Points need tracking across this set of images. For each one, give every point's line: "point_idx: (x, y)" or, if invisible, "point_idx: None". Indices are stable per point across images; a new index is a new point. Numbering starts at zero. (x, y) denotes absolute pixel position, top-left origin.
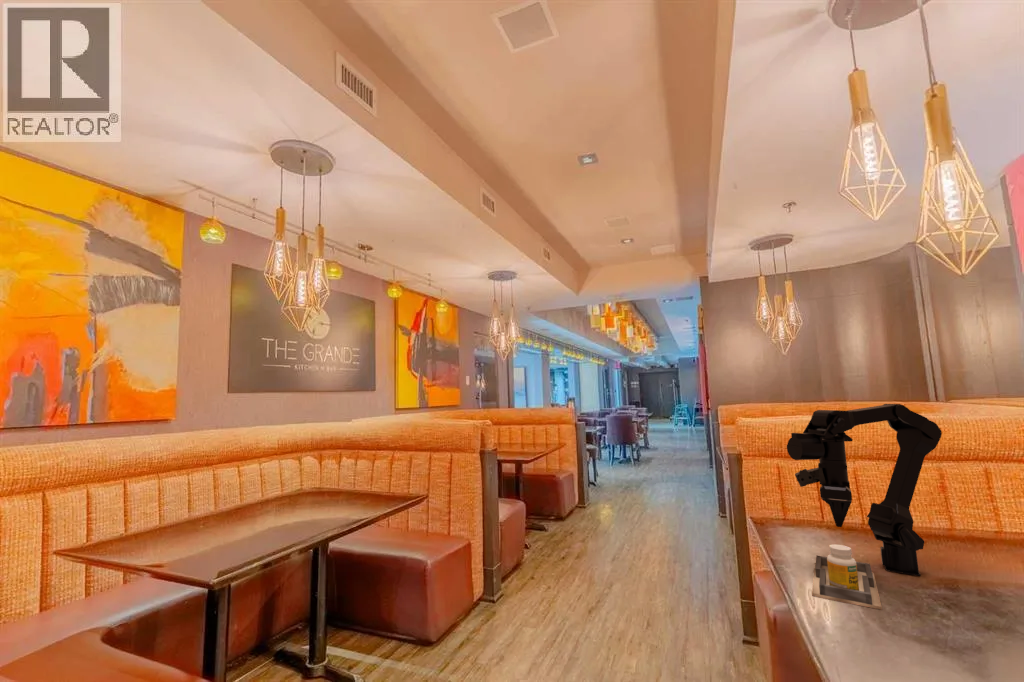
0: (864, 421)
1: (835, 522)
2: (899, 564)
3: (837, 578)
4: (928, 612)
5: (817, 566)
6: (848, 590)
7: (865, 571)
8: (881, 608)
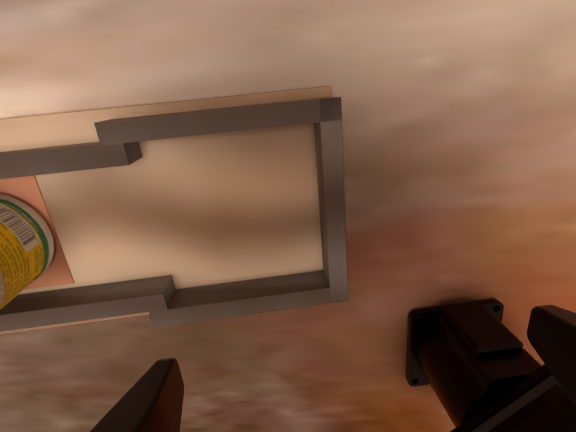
0: None
1: (133, 391)
2: (425, 362)
3: None
4: (87, 410)
5: (139, 127)
6: None
7: (324, 271)
8: None
